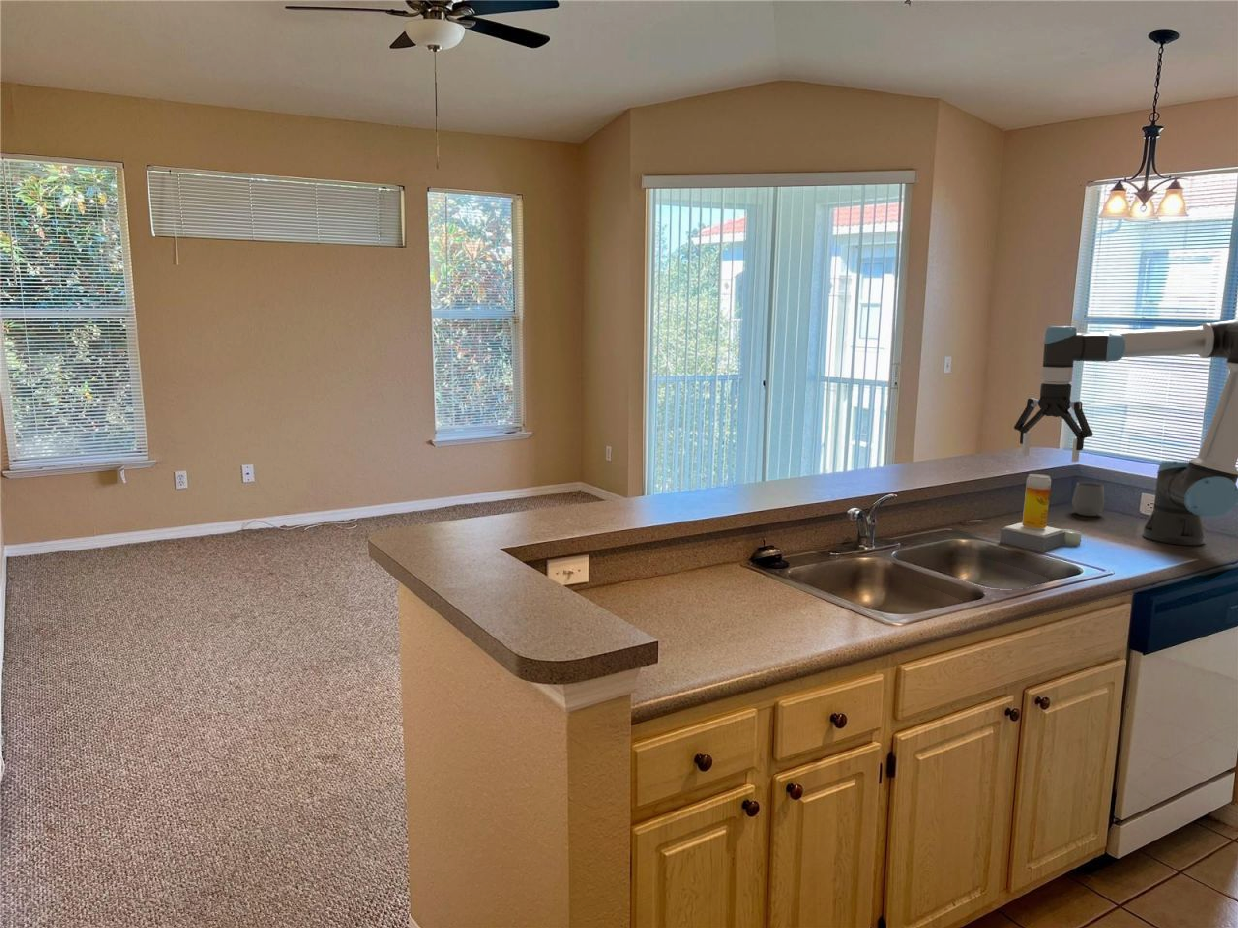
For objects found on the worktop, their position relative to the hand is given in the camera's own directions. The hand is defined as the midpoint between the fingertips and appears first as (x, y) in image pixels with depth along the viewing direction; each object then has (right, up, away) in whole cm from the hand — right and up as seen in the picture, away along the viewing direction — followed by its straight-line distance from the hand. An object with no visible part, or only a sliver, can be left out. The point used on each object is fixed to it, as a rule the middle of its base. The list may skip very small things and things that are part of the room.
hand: (1049, 458), depth 235 cm
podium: (-4, -24, +2) cm, 24 cm away
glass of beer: (-4, -20, +1) cm, 20 cm away
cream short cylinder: (+7, -24, +4) cm, 25 cm away
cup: (+32, -18, +39) cm, 54 cm away
